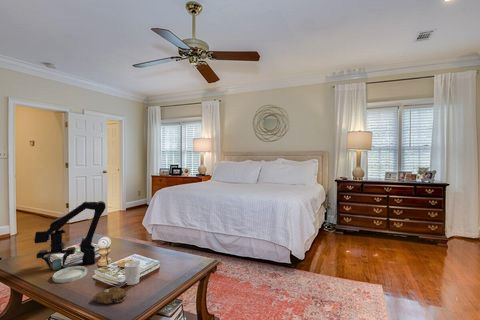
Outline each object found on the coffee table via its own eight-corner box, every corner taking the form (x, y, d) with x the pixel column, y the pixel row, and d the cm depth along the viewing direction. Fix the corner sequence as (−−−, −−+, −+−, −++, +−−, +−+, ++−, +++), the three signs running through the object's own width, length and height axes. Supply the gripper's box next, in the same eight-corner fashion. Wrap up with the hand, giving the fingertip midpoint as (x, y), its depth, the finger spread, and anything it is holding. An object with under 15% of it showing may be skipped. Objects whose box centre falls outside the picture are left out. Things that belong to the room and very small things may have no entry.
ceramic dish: (89, 267, 158) (89, 264, 158) (83, 279, 143) (83, 276, 143) (57, 271, 152) (57, 268, 152) (49, 284, 137) (49, 281, 137)
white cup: (143, 280, 144) (143, 262, 143) (133, 286, 136) (133, 268, 136) (131, 277, 146) (131, 260, 146) (121, 284, 139) (121, 265, 138)
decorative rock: (133, 294, 130) (104, 293, 131) (133, 286, 130) (104, 285, 132) (120, 306, 118) (89, 305, 120) (120, 297, 119) (89, 296, 120)
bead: (62, 266, 160) (62, 258, 160) (60, 269, 156) (60, 261, 156) (53, 267, 158) (53, 259, 158) (51, 270, 154) (51, 262, 154)
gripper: (77, 235, 168) (77, 259, 168) (42, 238, 161) (42, 263, 161) (73, 240, 157) (73, 266, 158) (35, 244, 150) (36, 271, 151)
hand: (56, 266), depth 157 cm, fingers open, 6 cm apart
